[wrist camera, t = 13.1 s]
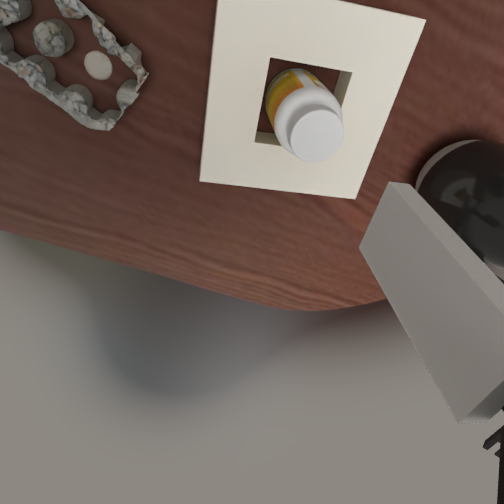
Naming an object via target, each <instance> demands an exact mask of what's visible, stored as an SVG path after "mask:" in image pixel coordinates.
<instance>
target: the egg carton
mask: <svg viewBox="0 0 504 504" xmlns="http://www.w3.org/2000/svg"><path fill="white" fill-rule="evenodd" d="M54 1H55V3H56V5H57V6H58V8H59V10H60V11H61V14H62V16H64V17H65V18H67V19H68V18H76V19H78V18H82V17H84V16H86V15H88V16H89V17H90V18H91V20H92V27H93V33H94V36H96V37H97V38H98V41H99V43H100V45H101V46H102V47H104V48H105V49H106V52H107V53H108V54H112V55H118V56H119V58H120V59H121V60H122V61H123V62H124V63H125V64H126V65H127V66H128V67H129V68H130V69H132V71H133V72H134V73H135V74H136V76H137V80H134V79H130V80H126V81H125V82H124V83H123V84H122V85H121V87H120V88H119V90H118V91H117V95H116V99H117V103H118V105H119V107H120V108H121V111H117V110H113V109H110V110H107V111H106V112H104V113H103V114H102V113H100V112H99V111H97V110H96V109H94V108H93V107H92V106H93V103H94V99H93V95H92V93H91V92H90V91H89V89H88V88H87V87H85V86H83V85H80V84H72V85H70V86H69V87H67V88H65V87H63V86H62V85H61V84H59V83H58V82H56V81H55V76H56V74H55V69H54V66H53V65H52V63H51V62H50V61H49V60H48V59H46V58H45V57H43V56H41V55H32V56H29V57H27V58H25V59H24V58H22V57H21V56H20V55H18V54H17V53H15V52H14V41H13V38H12V36H11V34H10V33H9V32H8V30H7V29H6V28H5V27H4V26H7V25H9V24H11V23H15V22H18V21H21V20H24V19H26V18H27V17H29V16H30V14H31V12H32V4H31V0H0V63H1V64H3V65H4V66H6V67H8V68H10V69H11V70H13V71H14V72H15V73H17V74H18V77H20V78H23V79H25V80H26V81H27V82H28V84H29V85H30V87H31V88H33V89H35V90H36V91H38V92H40V93H41V94H43V95H44V96H46V97H47V98H48V99H49V100H51V101H52V102H53V103H55V104H56V105H58V106H59V107H61V108H62V109H64V110H65V111H66V112H67V113H68V114H69V115H71V116H72V117H73V118H74V119H76V120H77V121H78V122H79V123H80V124H82V125H84V126H86V127H87V128H91V129H97V130H107V131H110V130H111V129H112V128H113V127H114V125H115V123H116V121H118V120H119V119H120V117H121V116H122V115H123V113H124V110H125V109H126V108H127V107H128V106H129V105H131V104H132V103H133V102H134V100H135V99H136V98H137V97H138V95H139V94H140V93H138V90H139V88H140V86H141V85H142V84H143V82H144V81H145V79H146V78H147V76H148V75H149V72H146V71H145V69H144V68H143V66H142V63H141V55H142V53H141V51H140V50H139V49H138V48H137V47H136V46H135V45H133V44H132V43H130V44H129V45H128V46H125V47H121V46H120V45H119V44H118V43H117V42H116V38H115V36H114V35H113V34H112V33H111V32H110V31H108V30H107V29H106V28H105V27H104V23H105V20H104V19H103V18H101V17H99V16H98V15H96V14H94V13H93V12H91V11H89V9H88V8H87V7H86V6H85V5H84V4H83V3H81V2H80V1H79V0H54ZM44 18H45V17H44ZM33 36H34V41H35V45H36V47H37V48H38V50H39V51H40V52H41V54H42V55H44V56H50V57H60V56H62V55H63V54H64V53H66V52H67V51H69V50H70V49H71V48H72V47H73V44H74V35H73V32H72V30H71V29H70V27H69V26H68V25H67V24H66V23H65V22H64V21H62V20H60V19H55V18H53V19H49V20H46V21H43V22H40V23H39V24H38V25H37V26H36V27H35V29H34V31H33ZM84 65H85V68H86V70H87V72H88V73H89V74H90V75H91V76H92V77H93V78H95V79H97V80H106V79H108V78H109V77H110V76H111V74H112V63H111V61H110V59H109V58H108V57H107V56H106V55H105V54H103V53H102V52H100V51H91V52H89V53H88V54H87V55H86V56H85V59H84Z"/></svg>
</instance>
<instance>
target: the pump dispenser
mask: <svg viewBox="0 0 504 504" xmlns="http://www.w3.org/2000/svg"><path fill="white" fill-rule="evenodd" d="M415 190H416V191H417V192H418V194H419V195H420V196H421V197H422V198H423V199H424V200H425V201H426V202H427V203H428V204H429V205H430V206H431V207H432V208H433V209H434V211H435V212H436V213H437V214H438V215H439V216H440V217H441V218H442V219H443V220H444V221H445V222H446V223H447V224H448V225H449V227H450V228H451V229H452V230H453V231H454V232H455V233H456V234H457V235H458V236H459V237H460V238H461V239H462V240H463V241H464V242H465V244H466V245H467V246H468V247H469V248H470V249H471V250H472V251H473V252H474V253H475V254H476V255H477V256H478V257H479V258H480V259H481V261H482V262H485V263H487V264H490V265H492V266H495V267H498V268H502V269H504V143H501V142H499V141H494V140H465V141H460V142H457V143H454V144H451V145H449V146H447V147H445V148H443V149H441V150H440V151H438V152H437V153H436V154H434V155H433V156H432V157H431V158H430V159H429V160H428V161H427V163H426V164H425V165H424V167H423V168H422V170H421V171H420V174H419V176H418V178H417V182H416V187H415Z"/></svg>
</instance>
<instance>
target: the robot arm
mask: <svg viewBox="0 0 504 504" xmlns="http://www.w3.org/2000/svg"><path fill="white" fill-rule="evenodd" d="M359 249H360V251H361V253H362V255H363V256H364V258H365V260H366V262H367V263H368V265H369V267H370V269H371V271H372V272H373V274H374V276H375V278H376V279H377V281H378V283H379V285H380V286H381V288H382V290H383V292H384V294H385V295H386V297H387V299H388V301H389V302H390V304H391V306H392V308H393V309H394V311H395V313H396V315H397V317H398V318H399V320H400V322H401V324H402V325H403V327H404V329H405V331H406V333H407V334H408V336H409V338H410V340H411V341H412V343H413V345H414V347H415V348H416V350H417V352H418V354H419V356H420V357H421V359H422V361H423V363H424V364H425V366H426V368H427V370H428V372H429V373H430V375H431V377H432V378H433V380H434V382H435V384H436V386H437V387H438V389H439V391H440V393H441V395H442V396H443V398H444V400H445V402H446V403H447V405H448V407H449V409H450V411H451V412H452V414H453V416H454V418H455V419H456V421H457V423H458V424H468V423H469V424H470V423H486V422H487V421H488V420H490V419H491V418H492V417H493V416H494V415H495V414H496V413H498V412H499V411H500V410H501V409H502V410H503V411H504V280H502V279H501V278H499V277H498V276H497V275H495V274H494V273H493V272H492V271H491V270H490V269H489V268H488V267H487V266H486V265H485V264H484V263H483V262H482V261H481V259H480V258H479V257H478V256H477V255H476V254H475V253H474V252H473V251H472V250H471V249H470V248H469V247H468V246H467V245H466V244H465V242H464V241H463V240H462V239H461V238H460V237H459V236H458V235H457V234H456V233H455V232H454V231H453V230H452V229H451V228H450V227H449V225H448V224H447V223H446V222H445V221H444V220H443V219H442V218H441V217H440V216H439V215H438V214H437V213H436V212H435V211H434V209H433V208H432V207H431V206H430V205H429V204H428V203H427V202H426V201H425V200H424V199H423V198H422V197H421V196H420V195H419V194H418V192H417V191H416V190H415V189H414V188H413V187H412V186H411V185H410V184H405V183H396V182H388V185H387V187H386V189H385V191H384V193H383V196H382V198H381V200H380V202H379V204H378V207H377V209H376V211H375V213H374V215H373V218H372V220H371V222H370V224H369V226H368V229H367V231H366V233H365V235H364V237H363V240H362V242H361V244H360V246H359ZM497 442H500V443H501V445H500V449H499V450H498V451H497V452H496V453H495V455H496V456H498V457H499V458H500V462H499V481H498V497H497V504H504V425H503V426H502V427H501V428H500V429H499V430H497V431H496V432H495V433H494V434H493V435H491V436H490V437H489V438H488V439H487V440H485V443H484V445H483V448H485V449H487V450H488V449H489V448H491V447H492V446H493V445H494V444H496V443H497Z"/></svg>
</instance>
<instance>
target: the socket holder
mask: <svg viewBox="0 0 504 504" xmlns="http://www.w3.org/2000/svg"><path fill="white" fill-rule="evenodd" d="M425 22H426V20H424V19H421V18H417V17H413V16H410V15H405V14H401V13H396V12H392V11H387V10H383V9H378V8H374V7H369V6H365V5H360V4H356V3H351V2H347V1H342V0H217V4H216V14H215V24H214V34H213V44H212V54H211V63H210V73H209V83H208V93H207V103H206V113H205V123H204V133H203V143H202V153H201V163H200V181H202V182H211V183H220V184H228V185H237V186H246V187H254V188H263V189H271V190H280V191H289V192H297V193H306V194H315V195H323V196H332V197H341V198H349V199H355V198H356V196H357V193H358V191H359V188H360V186H361V183H362V181H363V178H364V176H365V173H366V170H367V168H368V165H369V163H370V160H371V158H372V155H373V153H374V150H375V148H376V145H377V143H378V140H379V138H380V135H381V133H382V130H383V128H384V125H385V123H386V120H387V118H388V115H389V113H390V110H391V108H392V105H393V103H394V100H395V98H396V95H397V92H398V90H399V87H400V85H401V82H402V80H403V77H404V75H405V72H406V70H407V67H408V65H409V62H410V60H411V57H412V55H413V52H414V50H415V47H416V45H417V42H418V40H419V37H420V35H421V32H422V30H423V27H424V25H425ZM270 57H271V58H277V59H282V60H288V61H293V62H299V63H304V64H309V65H315V66H320V67H326V68H331V69H337V70H340V73H339V77H338V80H337V83H336V87H335V90H334V93H333V95H334V97H335V98H336V99H337V101H338V103H339V104H340V107H341V110H342V116H343V121H342V123H343V127H344V138H343V141H342V144H341V146H340V148H339V149H338V150H337V152H336V153H335V154H334V155H333V156H331V157H330V158H328V159H327V160H324V161H322V162H317V163H309V162H305V161H303V160H301V159H299V158H298V157H297V156H296V155H293V154H291V153H290V152H288V151H287V150H285V149H284V148H283V147H282V145H281V144H280V143H279V141H278V139H277V137H276V134H273V133H266V132H259V131H256V130H257V125H258V120H259V114H260V109H261V104H262V98H263V93H264V88H265V82H266V77H267V72H268V67H269V61H270Z"/></svg>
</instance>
